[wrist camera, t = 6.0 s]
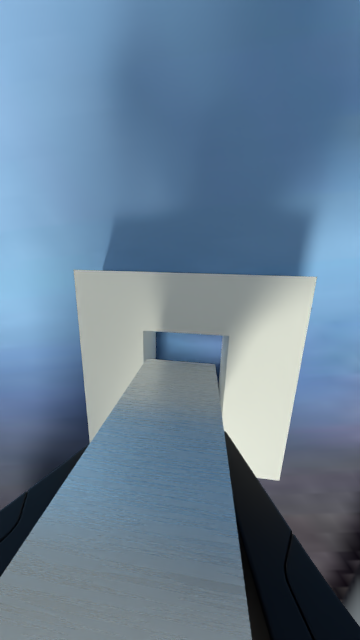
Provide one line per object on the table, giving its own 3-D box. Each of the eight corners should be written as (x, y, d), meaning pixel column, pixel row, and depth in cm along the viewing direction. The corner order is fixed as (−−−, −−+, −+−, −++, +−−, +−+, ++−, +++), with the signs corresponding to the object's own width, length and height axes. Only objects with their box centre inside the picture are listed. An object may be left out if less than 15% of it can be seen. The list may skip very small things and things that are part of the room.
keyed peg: (215, 364, 9) (286, 907, 1) (208, 447, 10) (226, 1026, 2) (146, 358, 9) (-125, 764, 2) (147, 439, 10) (-16, 921, 3)
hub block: (264, 439, 15) (279, 480, 12) (111, 422, 16) (90, 455, 13) (289, 276, 12) (316, 276, 9) (102, 270, 13) (73, 269, 10)
